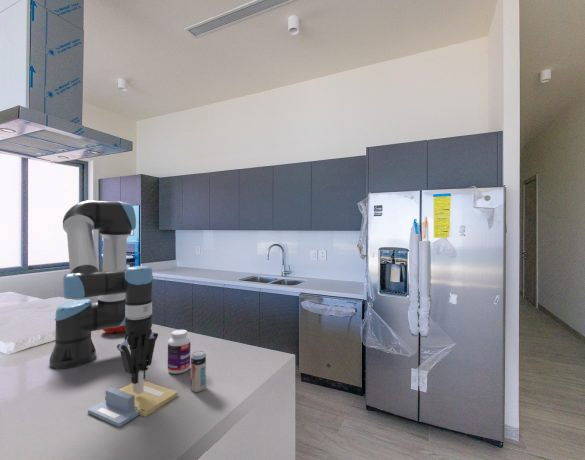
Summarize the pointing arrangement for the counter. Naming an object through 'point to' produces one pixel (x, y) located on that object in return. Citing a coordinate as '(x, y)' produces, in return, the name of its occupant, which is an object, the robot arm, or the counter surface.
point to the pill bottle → (178, 352)
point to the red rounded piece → (115, 329)
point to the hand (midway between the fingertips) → (138, 391)
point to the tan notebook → (150, 397)
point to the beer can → (198, 371)
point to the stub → (115, 407)
